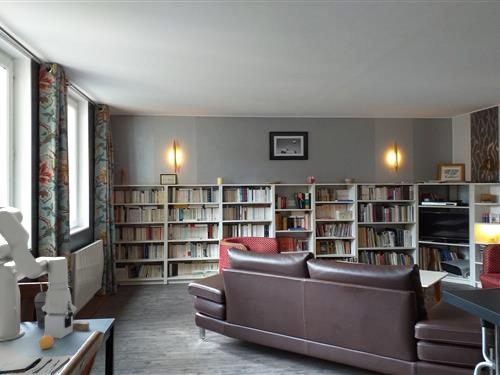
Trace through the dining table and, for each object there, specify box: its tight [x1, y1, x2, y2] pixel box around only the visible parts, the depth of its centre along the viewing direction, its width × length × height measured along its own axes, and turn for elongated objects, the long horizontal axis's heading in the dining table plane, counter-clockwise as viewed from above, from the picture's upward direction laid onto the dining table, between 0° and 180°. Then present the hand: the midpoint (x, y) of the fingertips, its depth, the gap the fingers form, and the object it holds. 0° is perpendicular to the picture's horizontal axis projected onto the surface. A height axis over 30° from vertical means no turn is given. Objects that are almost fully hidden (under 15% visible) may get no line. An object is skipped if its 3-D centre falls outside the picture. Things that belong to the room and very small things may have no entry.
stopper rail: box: [73, 321, 90, 331], centre depth 171 cm, size 10×2×3 cm, turn 78°
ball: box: [39, 335, 55, 350], centre depth 151 cm, size 5×5×5 cm
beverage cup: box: [34, 281, 47, 328], centre depth 176 cm, size 7×7×20 cm
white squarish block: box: [44, 313, 74, 339], centre depth 166 cm, size 8×8×9 cm
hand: (59, 326), depth 166 cm, fingers closed on white squarish block, 7 cm apart
